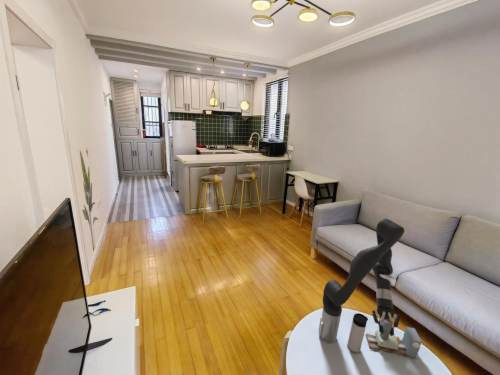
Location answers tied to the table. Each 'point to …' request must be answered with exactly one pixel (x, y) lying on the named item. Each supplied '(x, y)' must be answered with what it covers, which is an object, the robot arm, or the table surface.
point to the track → (374, 345)
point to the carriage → (386, 336)
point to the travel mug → (357, 332)
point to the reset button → (399, 340)
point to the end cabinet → (411, 341)
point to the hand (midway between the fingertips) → (386, 334)
